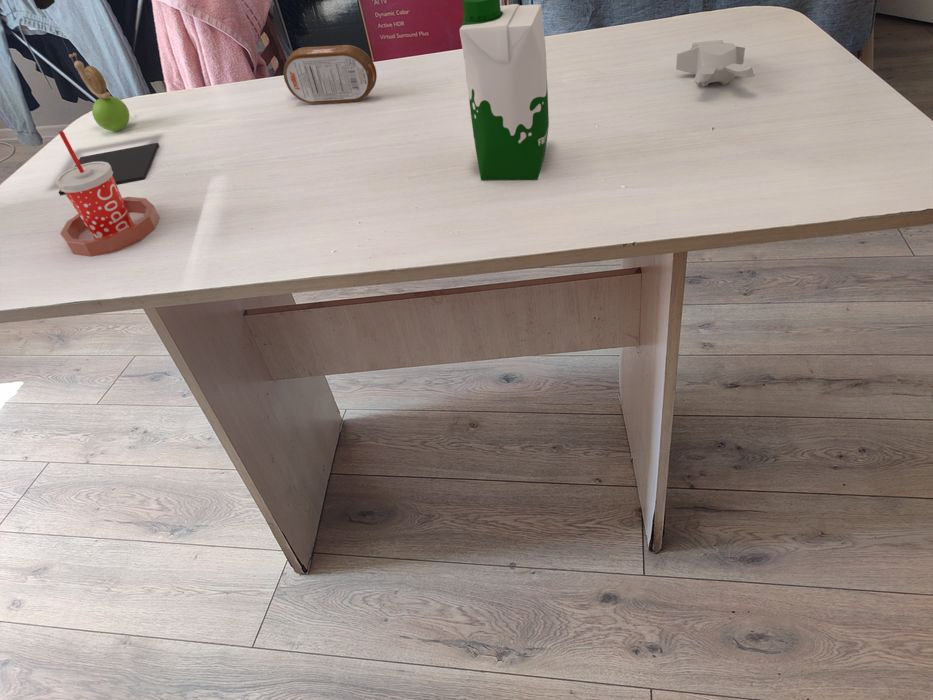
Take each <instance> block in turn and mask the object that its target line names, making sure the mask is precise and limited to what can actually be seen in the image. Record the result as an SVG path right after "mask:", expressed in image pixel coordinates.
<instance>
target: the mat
mask: <svg viewBox="0 0 933 700" xmlns="http://www.w3.org/2000/svg"><path fill="white" fill-rule="evenodd" d="M159 148H160V144H159V142H154V143H148V144H143V145H138V146H132V147H127V148H121V149H116V150H112V151H111V150H110V151H107V152H106V151H105V152H100V153H95V154H88V155H83V156H80V157H79V158H78V160H79V162H80V164H85V163H90V162H100V161H103V162H107V163H109V165H110V166H111V168H112V169H111V170H112V171H113V175H112V176H113V178H114V180H115V183H116V185H117V186H118V185H123V184H127V183H133V182H137V181H139V182H140V181H143V180H146V177H147V175H148V173H149V171H150V168H151V165H152V163H153V161H154V158H155V156H156V154H157V152H158V150H159ZM74 167H76V164H74ZM58 194H59V196H64V195H66V194H65V192H63V191H61V190H60V189H59V191H58Z"/></svg>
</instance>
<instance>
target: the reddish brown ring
mask: <svg viewBox="0 0 933 700" xmlns="http://www.w3.org/2000/svg"><path fill="white" fill-rule="evenodd" d="M122 199H123V201H124V204H125V206H126V208H127V211H128V213H129V214H130V213H137V214H143V216H142V217H141V218H140V219H138V220H137V221H136V222H134V223H133V225H132V226H131V227H129V228H127V229H124V230H122V231H120V232H117V233H115V234H113V235H110V236H107V237H101V238H96V239H94V238H91V239H81V238H79V236H80V234H82V233H83V232H85V230H87V229H88V228H87V226H86V225H85V223H84V222H83V220H82V219H81V217H80V215H79V214H78V213H77V214H76V215H74V216H73V217H71V218H70V219H68V220H67V221H66V222H65V224H64V226H63V228H61V231H60V233H59V234H60V237H61V238H62V240H63V241H64V243H65V245H66V246H67V248H68V249H69V250H70V251H71V253H72V255H75V256H83V257H91V258H92V257H97V256H103V255H108V254H112V253H113V254H114V253H116V252H120V251H121V250H124V249H127V248H129V247H130V246H133V245H135V244H137V243H140V242H141V241H143V240H144V239H145V238H146V237H147V236H149V235H150V234H151V233H152V232H153V231H155V230H156V228H157V227H158V226H157V225H158V223H159V220H160V216H159V214H158V212H157V210H156V207H155V205H154V204H153V203H151V201H150V200H148V198H146V197H137V196H125V197H122Z"/></svg>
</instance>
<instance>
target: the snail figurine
mask: <svg viewBox="0 0 933 700" xmlns="http://www.w3.org/2000/svg"><path fill="white" fill-rule="evenodd" d="M77 56H78V54H77V53H76V52H73V53H72V54H71V53H70V54H69V55H68V57H69V58H70V59H71V60H72V62H73V65H74V68H75V69H76V70H77V72H78V74H79V76H80V78H81V80H82V82H83V83H84V84H85V86H86V88H88V90H89V91H90V92H91V94H93V95H95V96H96V97H97V98H98V99H96V100H95V101H94V103H93V105H92V109H91V111H92V117H93V119H94V121H95V122H96V124H97V125H98V126H99V127H101V128H103V129H104V130H107V131H110V132H117V131H121V130H123V129H124V128H125V127H126V126H127V125H128V124H129V122H130V110H129V107H128V106H127V105H126V104H125V102H124V101H123V100H121V99H120V98H117V97H115V96H111V92H110V91H107V82H106V80H105V77H104V76H103V74H102V73H101V72H100V70H99V69H98V68H97V67H95V66H93V65H87V66H86V67H85V65H84V63H83V62H82V61H80V60H78V58H77ZM73 57H75V59H76V60H75V61H74V59H73Z"/></svg>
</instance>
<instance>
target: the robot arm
mask: <svg viewBox="0 0 933 700" xmlns="http://www.w3.org/2000/svg"><path fill="white" fill-rule="evenodd" d="M32 1H33V3H34V5H35V6H36V8H37V9H39V10H40V11H42V10H43V11H44V10H47V9H48V8H50V7H51V6H52V5H54V4H55V2H56V1H55V0H32Z"/></svg>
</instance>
